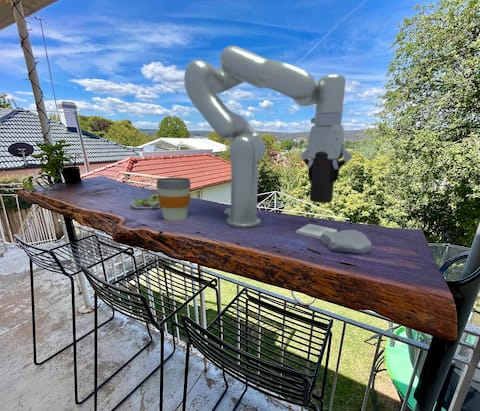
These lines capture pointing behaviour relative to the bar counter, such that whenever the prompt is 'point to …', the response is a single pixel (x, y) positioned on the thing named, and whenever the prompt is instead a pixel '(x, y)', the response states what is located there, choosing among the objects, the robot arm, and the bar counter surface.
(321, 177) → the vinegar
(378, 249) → the bar counter surface
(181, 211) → the reusable coffee cup
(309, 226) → the tile
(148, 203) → the salad plate
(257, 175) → the robot arm
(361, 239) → the stone block
